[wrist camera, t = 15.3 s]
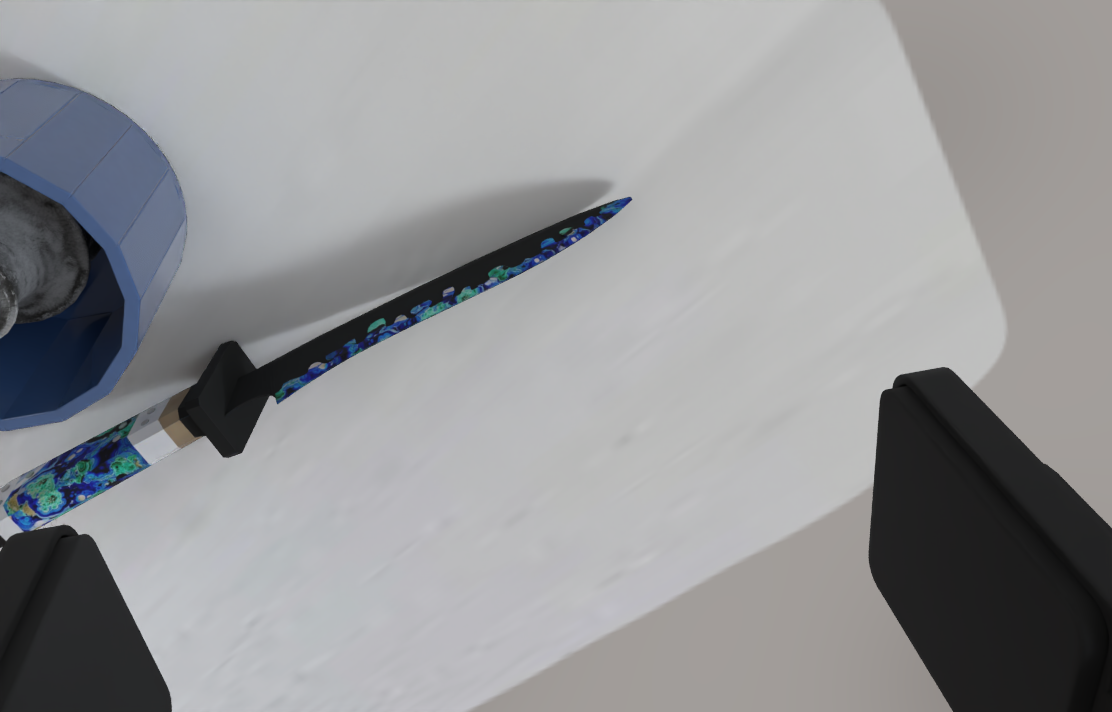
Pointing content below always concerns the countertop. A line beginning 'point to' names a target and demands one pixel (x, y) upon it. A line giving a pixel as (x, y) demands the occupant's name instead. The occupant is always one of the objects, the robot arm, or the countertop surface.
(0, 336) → the salt shaker
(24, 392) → the blue cup
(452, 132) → the countertop surface
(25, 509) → the knife
